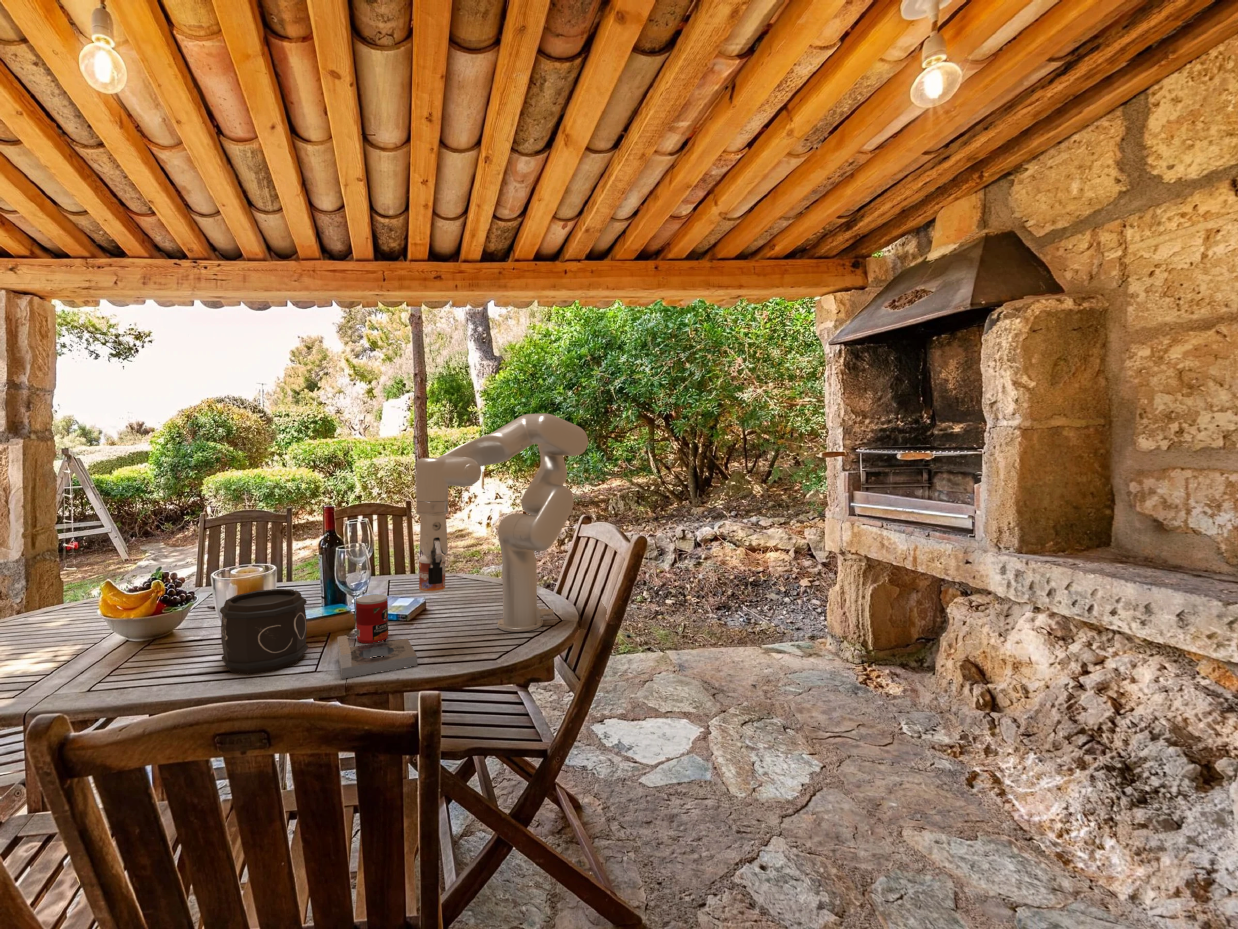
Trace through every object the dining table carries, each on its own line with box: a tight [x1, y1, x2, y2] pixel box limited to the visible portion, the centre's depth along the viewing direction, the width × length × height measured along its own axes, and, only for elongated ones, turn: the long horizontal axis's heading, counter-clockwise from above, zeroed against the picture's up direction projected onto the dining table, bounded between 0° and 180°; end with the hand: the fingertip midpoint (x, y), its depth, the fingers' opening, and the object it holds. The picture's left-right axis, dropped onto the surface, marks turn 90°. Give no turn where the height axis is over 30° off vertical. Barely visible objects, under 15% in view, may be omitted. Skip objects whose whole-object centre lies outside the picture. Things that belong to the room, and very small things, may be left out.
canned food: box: [355, 594, 389, 644], centre depth 161 cm, size 8×8×11 cm
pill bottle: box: [418, 548, 446, 594], centre depth 150 cm, size 6×6×11 cm
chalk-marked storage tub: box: [219, 588, 309, 675], centre depth 146 cm, size 18×18×16 cm
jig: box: [337, 635, 418, 680], centre depth 144 cm, size 16×14×6 cm
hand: (432, 580), depth 150 cm, fingers closed on pill bottle, 6 cm apart
